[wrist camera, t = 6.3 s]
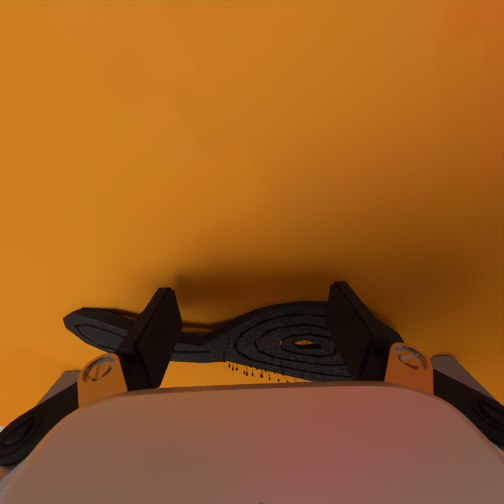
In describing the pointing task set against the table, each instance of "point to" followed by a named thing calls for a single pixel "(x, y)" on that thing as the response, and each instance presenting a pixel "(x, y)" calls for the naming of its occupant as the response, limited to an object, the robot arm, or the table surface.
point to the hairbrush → (241, 340)
